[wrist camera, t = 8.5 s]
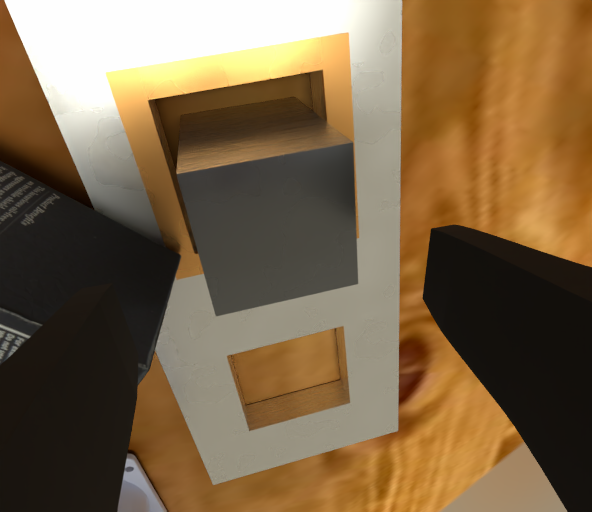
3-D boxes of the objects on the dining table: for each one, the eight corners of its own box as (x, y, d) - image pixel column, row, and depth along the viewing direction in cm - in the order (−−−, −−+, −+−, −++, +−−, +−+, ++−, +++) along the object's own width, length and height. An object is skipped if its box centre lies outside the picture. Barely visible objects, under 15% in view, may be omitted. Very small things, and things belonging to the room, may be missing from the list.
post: (304, 199, 19) (358, 283, 13) (207, 218, 18) (215, 316, 12) (294, 96, 16) (353, 142, 10) (180, 115, 16) (176, 174, 10)
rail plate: (386, 408, 28) (399, 433, 26) (211, 458, 26) (213, 488, 25) (379, -77, 14) (405, -90, 12) (13, -30, 13) (-14, -37, 11)
